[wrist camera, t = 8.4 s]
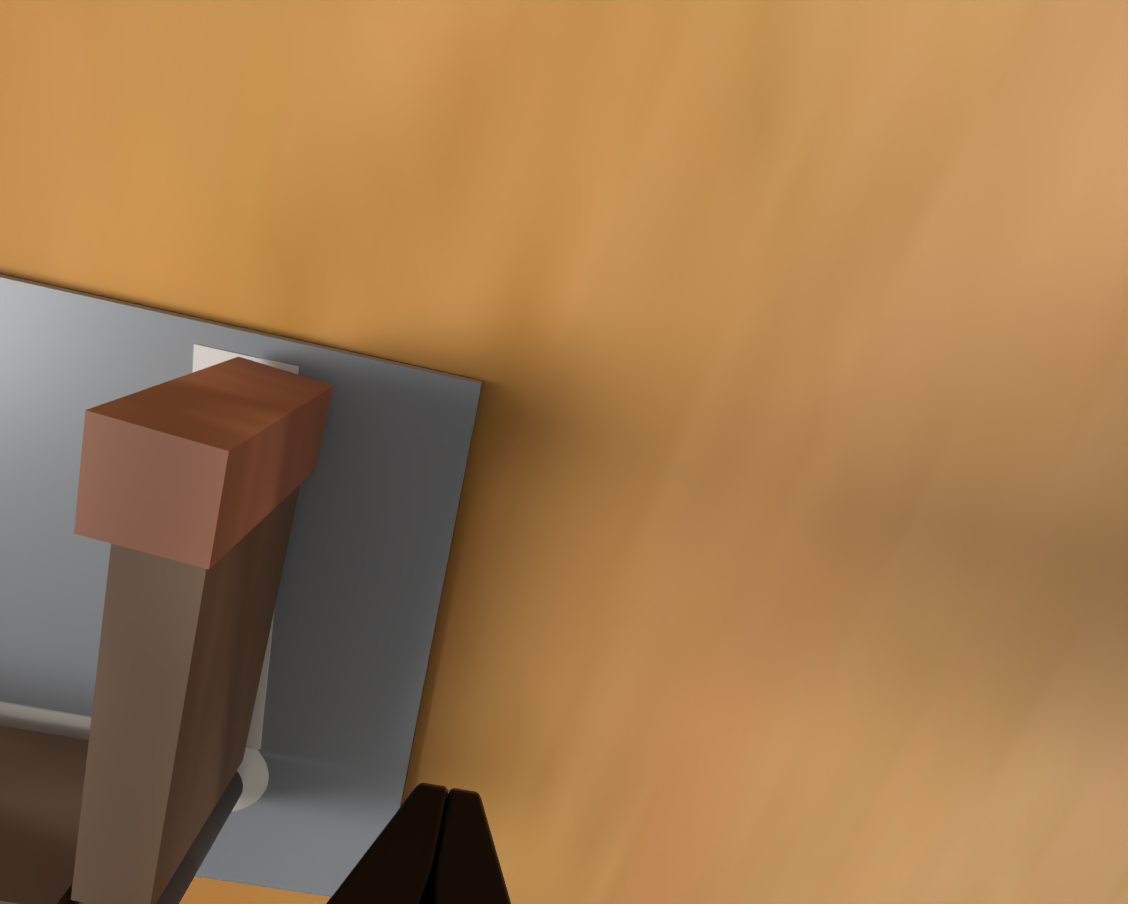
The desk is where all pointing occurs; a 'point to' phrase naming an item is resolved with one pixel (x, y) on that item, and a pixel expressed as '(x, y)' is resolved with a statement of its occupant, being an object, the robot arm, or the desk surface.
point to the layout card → (308, 583)
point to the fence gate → (182, 602)
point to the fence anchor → (65, 819)
